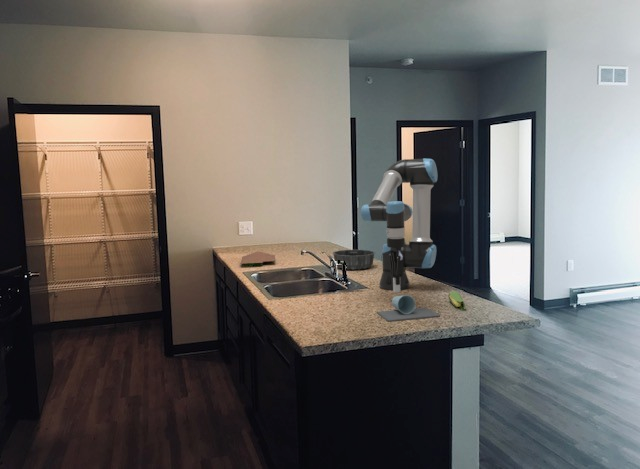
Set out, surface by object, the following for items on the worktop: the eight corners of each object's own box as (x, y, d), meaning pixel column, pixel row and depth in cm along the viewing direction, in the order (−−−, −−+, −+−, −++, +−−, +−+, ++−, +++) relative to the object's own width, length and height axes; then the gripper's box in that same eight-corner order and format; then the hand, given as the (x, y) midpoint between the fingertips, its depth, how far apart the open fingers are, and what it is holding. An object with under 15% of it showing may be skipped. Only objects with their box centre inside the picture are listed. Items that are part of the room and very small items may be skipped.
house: (275, 259, 383) (274, 247, 382) (275, 266, 350) (275, 254, 350) (242, 260, 381) (242, 249, 380) (240, 268, 348) (239, 256, 347)
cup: (388, 310, 228) (396, 313, 218) (389, 292, 228) (398, 294, 218) (405, 312, 229) (414, 314, 219) (406, 294, 230) (416, 295, 220)
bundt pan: (375, 264, 347) (375, 248, 346) (375, 271, 321) (375, 255, 320) (334, 264, 349) (334, 249, 348) (331, 272, 323) (331, 255, 322)
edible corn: (459, 291, 242) (449, 288, 243) (468, 302, 223) (457, 300, 223) (456, 301, 243) (446, 299, 243) (464, 314, 223) (453, 311, 224)
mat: (376, 313, 224) (376, 311, 224) (425, 308, 229) (425, 307, 229) (388, 321, 211) (388, 320, 211) (440, 316, 216) (440, 315, 215)
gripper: (382, 236, 235) (383, 289, 238) (393, 240, 222) (394, 295, 225) (398, 235, 236) (399, 287, 239) (410, 238, 224) (410, 294, 227)
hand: (396, 291), depth 232 cm, fingers closed
